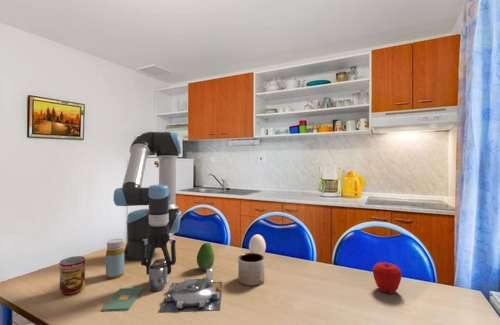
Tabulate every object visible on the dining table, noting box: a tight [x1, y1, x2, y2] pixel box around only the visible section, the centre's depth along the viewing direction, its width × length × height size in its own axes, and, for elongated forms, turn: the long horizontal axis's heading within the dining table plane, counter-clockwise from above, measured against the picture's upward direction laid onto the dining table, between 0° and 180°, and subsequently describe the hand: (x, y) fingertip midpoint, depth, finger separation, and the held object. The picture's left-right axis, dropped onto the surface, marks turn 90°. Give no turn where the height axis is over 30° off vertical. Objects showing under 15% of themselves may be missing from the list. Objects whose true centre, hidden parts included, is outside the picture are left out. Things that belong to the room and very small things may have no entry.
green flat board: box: [101, 287, 144, 312], centre depth 94 cm, size 14×8×1 cm, turn 4°
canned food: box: [59, 255, 86, 298], centre depth 100 cm, size 8×8×12 cm
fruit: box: [196, 242, 215, 271], centre depth 120 cm, size 8×8×12 cm
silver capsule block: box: [148, 258, 167, 292], centre depth 105 cm, size 12×6×8 cm, turn 4°
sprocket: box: [165, 267, 220, 308], centre depth 97 cm, size 20×20×8 cm
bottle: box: [105, 238, 125, 280], centre depth 113 cm, size 7×7×15 cm
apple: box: [372, 262, 403, 293], centre depth 101 cm, size 10×10×11 cm
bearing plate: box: [158, 281, 223, 313], centre depth 97 cm, size 20×20×1 cm
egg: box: [248, 234, 267, 256], centre depth 136 cm, size 9×9×12 cm
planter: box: [237, 252, 266, 287], centre depth 109 cm, size 11×11×10 cm
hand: (158, 281), depth 105 cm, fingers closed on silver capsule block, 5 cm apart
